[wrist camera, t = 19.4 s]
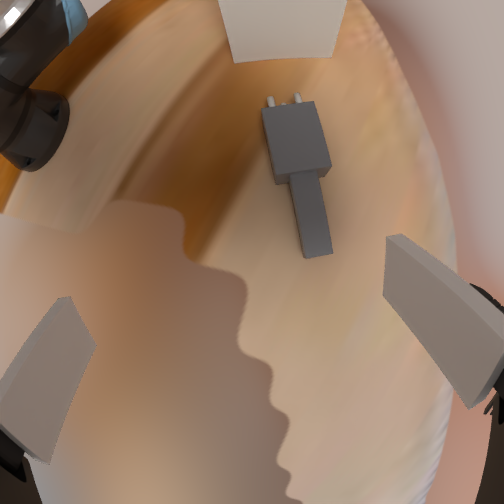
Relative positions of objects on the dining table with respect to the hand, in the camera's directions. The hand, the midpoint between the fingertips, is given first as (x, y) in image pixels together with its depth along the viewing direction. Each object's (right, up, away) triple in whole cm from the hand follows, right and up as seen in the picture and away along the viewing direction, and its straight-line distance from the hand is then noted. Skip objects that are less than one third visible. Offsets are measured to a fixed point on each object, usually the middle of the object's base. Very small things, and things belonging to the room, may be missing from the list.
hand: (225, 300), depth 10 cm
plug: (+7, +10, +22) cm, 25 cm away
